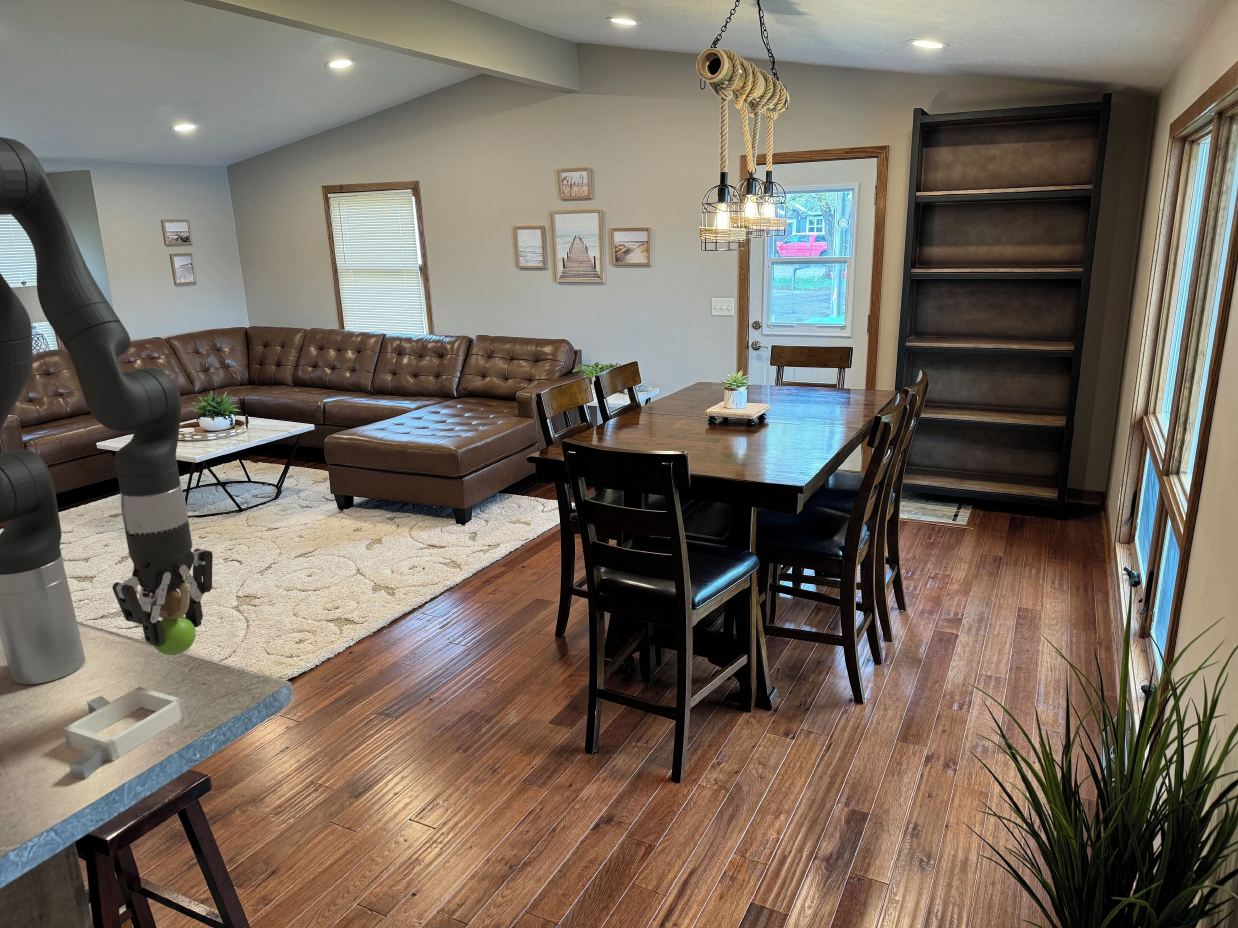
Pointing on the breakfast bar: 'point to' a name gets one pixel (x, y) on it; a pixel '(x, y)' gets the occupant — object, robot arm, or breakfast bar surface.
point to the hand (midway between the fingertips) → (175, 634)
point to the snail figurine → (176, 621)
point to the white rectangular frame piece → (112, 749)
